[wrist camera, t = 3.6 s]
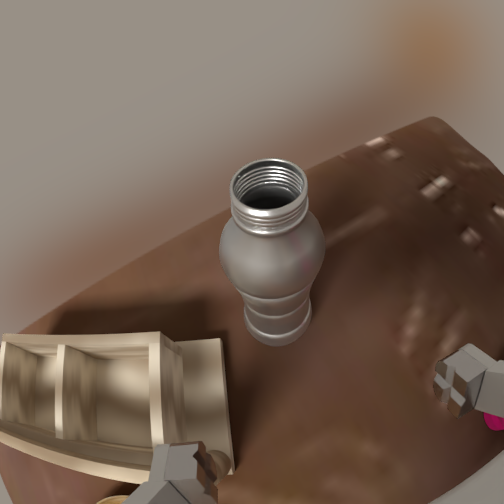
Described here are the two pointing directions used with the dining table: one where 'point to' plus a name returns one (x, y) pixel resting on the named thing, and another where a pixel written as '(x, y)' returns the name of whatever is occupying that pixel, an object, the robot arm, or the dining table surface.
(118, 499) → the plant saucer
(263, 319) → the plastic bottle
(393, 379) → the dining table surface
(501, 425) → the magenta pepper grinder
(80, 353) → the wooden compartment rack
